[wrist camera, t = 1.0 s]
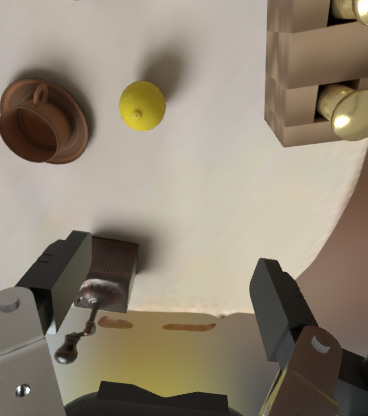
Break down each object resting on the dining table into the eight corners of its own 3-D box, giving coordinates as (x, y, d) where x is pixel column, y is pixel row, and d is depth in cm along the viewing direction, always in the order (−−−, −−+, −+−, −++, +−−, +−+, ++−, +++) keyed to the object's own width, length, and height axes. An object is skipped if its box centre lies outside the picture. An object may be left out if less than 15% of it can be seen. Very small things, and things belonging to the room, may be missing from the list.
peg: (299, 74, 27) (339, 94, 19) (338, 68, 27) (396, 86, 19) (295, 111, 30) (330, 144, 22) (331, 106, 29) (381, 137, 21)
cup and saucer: (-5, 72, 34) (-40, 80, 29) (85, 79, 34) (65, 89, 29) (23, 155, 41) (-2, 174, 36) (97, 162, 41) (83, 181, 36)
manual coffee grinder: (84, 234, 50) (37, 320, 35) (140, 243, 51) (116, 331, 36) (87, 282, 59) (51, 367, 45) (135, 289, 60) (114, 375, 45)
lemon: (176, 103, 35) (171, 121, 28) (146, 126, 37) (135, 148, 30) (150, 66, 32) (137, 76, 26) (119, 93, 34) (100, 110, 28)
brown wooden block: (268, -38, 26) (299, -65, 18) (363, -58, 25) (442, -98, 17) (264, 119, 35) (283, 147, 27) (333, 109, 34) (374, 136, 26)
